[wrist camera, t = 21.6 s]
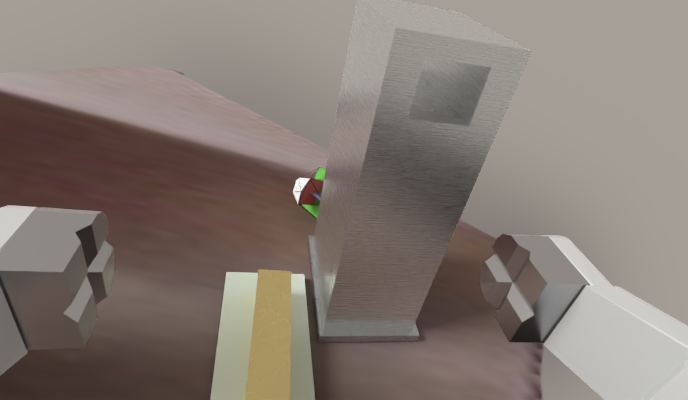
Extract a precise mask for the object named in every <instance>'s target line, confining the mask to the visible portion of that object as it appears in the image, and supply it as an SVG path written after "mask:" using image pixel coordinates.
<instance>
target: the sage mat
mask: <svg viewBox="0 0 688 400" xmlns="http://www.w3.org/2000/svg"><path fill="white" fill-rule="evenodd" d="M257 278H258V273H241V272H227V273H226V280H225V288H224V296H223V304H222V312H221V319H220V327H219V335H218V343H217V350H216V358H215V366H214V374H213V382H212V389H211V397H210V400H245V395H246V385H247V375H248V366H249V356H250V346H251V337H252V327H253V317H254V307H255V298H256V288H257ZM290 400H315V393H314V381H313V370H312V358H311V347H310V335H309V324H308V312H307V301H306V289H305V278H304V274H291V361H290Z"/></svg>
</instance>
